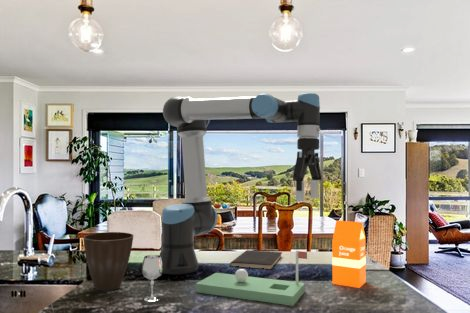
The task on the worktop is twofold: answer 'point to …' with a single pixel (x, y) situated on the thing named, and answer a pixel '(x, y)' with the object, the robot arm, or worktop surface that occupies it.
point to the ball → (241, 275)
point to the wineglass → (152, 272)
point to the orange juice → (349, 254)
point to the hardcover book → (256, 259)
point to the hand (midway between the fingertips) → (307, 199)
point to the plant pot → (107, 258)
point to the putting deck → (255, 287)
